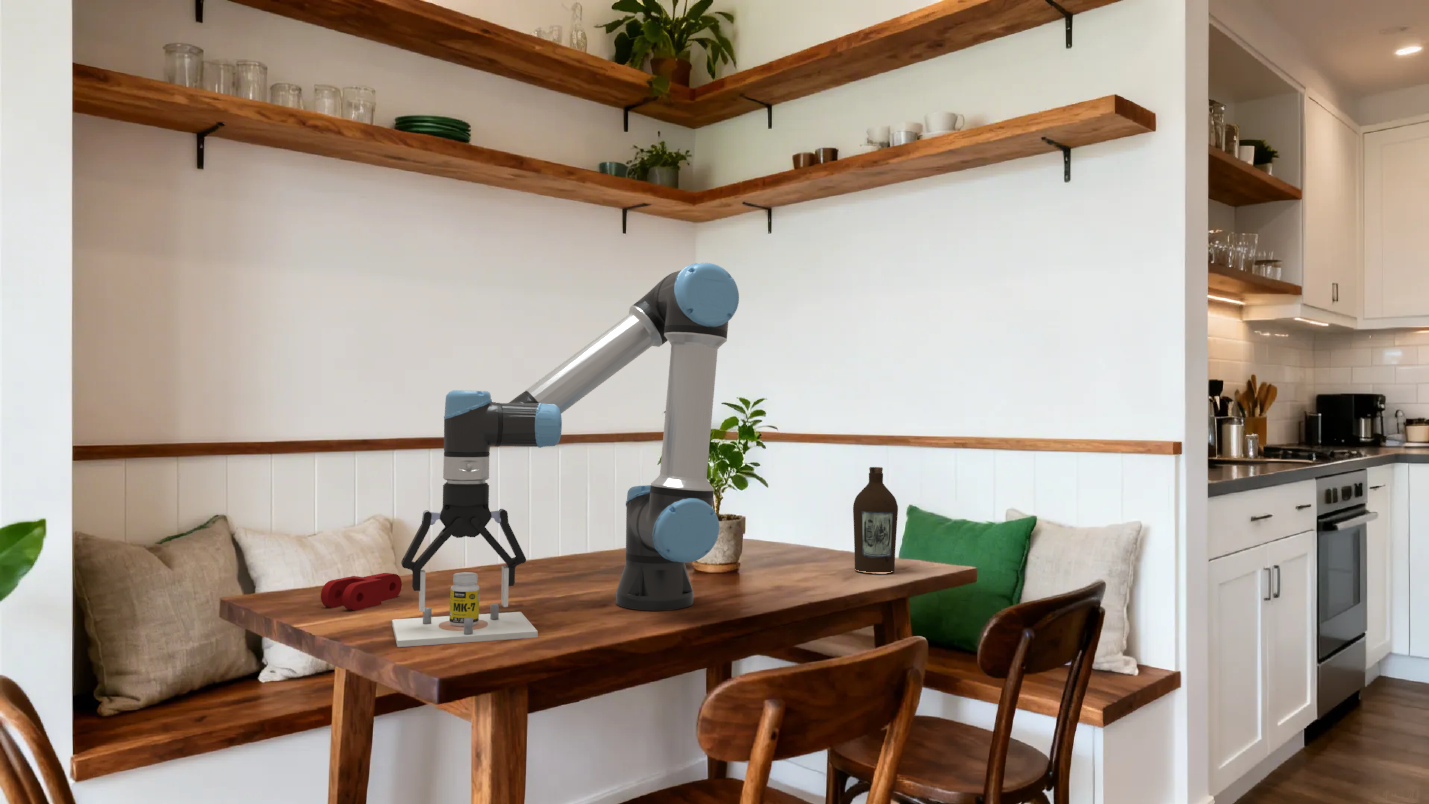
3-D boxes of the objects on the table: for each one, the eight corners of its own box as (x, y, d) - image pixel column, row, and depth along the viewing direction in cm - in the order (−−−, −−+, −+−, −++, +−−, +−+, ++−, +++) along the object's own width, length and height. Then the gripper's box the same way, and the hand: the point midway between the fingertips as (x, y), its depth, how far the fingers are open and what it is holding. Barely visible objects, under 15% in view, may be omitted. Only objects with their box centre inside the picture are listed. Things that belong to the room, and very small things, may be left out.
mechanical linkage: (349, 613, 174) (349, 586, 174) (320, 609, 177) (321, 582, 177) (410, 598, 189) (411, 573, 189) (383, 594, 192) (383, 570, 192)
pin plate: (520, 617, 172) (520, 597, 172) (537, 637, 158) (538, 616, 158) (392, 625, 164) (392, 604, 164) (397, 647, 149) (397, 624, 150)
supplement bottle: (449, 627, 158) (450, 576, 158) (449, 621, 163) (450, 572, 163) (479, 626, 159) (480, 576, 159) (478, 620, 164) (479, 571, 164)
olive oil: (850, 567, 235) (851, 465, 235) (893, 568, 234) (895, 466, 234) (854, 574, 224) (856, 468, 224) (900, 576, 224) (901, 469, 224)
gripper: (389, 484, 153) (386, 616, 153) (544, 482, 162) (541, 607, 162) (387, 480, 160) (384, 607, 160) (535, 479, 169) (533, 599, 169)
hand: (463, 608), depth 161 cm, fingers open, 13 cm apart
